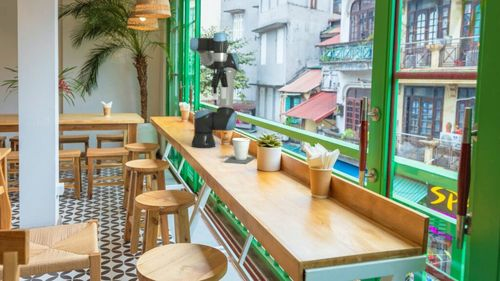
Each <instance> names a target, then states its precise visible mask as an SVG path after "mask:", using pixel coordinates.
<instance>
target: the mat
mask: <svg viewBox="0 0 500 281" xmlns="http://www.w3.org/2000/svg"><path fill="white" fill-rule="evenodd" d="M253 160H256V157H254V156H247V159H246V160H236V159H235V155H234V157H232V158H230V159H228V160H226V161H224V162H223V163H225V164H238V165H239V164H240V165H241V164H242V165H243V164H244V165H246V164H249V163H251V162H252V161H253Z"/></svg>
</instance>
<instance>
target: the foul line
mask: <svg viewBox="0 0 500 281" xmlns="http://www.w3.org/2000/svg"><path fill="white" fill-rule="evenodd" d="M234 156H235V154H230V155H229V156H227V157H225V158H223V159H221V160H220V162H222V163H225V162H224V161H226V160H228V159H230V158H232V157H234Z"/></svg>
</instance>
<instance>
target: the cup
mask: <svg viewBox="0 0 500 281" xmlns="http://www.w3.org/2000/svg"><path fill="white" fill-rule="evenodd" d="M231 140H232V145H233V154H234V156H235V159H236V160H246V159H247V157H248V154H249V147H250V144H251V139H250V138H247V137H234V138H232V139H231Z"/></svg>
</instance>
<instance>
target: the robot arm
mask: <svg viewBox="0 0 500 281" xmlns="http://www.w3.org/2000/svg"><path fill="white" fill-rule="evenodd" d="M229 46H230V44H229V41H228V34H227V33H226V32H214V33H213V37H192V38H190V40H189V49H190V50H191V52H196V53H197V54H198V56H199V61H200V63H201V64H202V66H204V67H205V68H207V69H208V70H212V71H213V74H212V79H211V80H212V81H211V86H210V88H212V100H216V101H217V100H218V101H219V106H218V107H217V109H216V111H214V110H213V109H204V110H203V109H202V110H197V111H195V113H194V117H193V118H194V119H193V120H194V127H193V128H194V129H193V131H194V132H193V133H194V135H193V138H192V140H191V141H192V142H191V147H192V148H197V149H199V148H200V149H210V148H215V147H216V140H215V138H214V134H213V131H226V132H227V131H234V130H235V129H236V125H237V118H238V113H237V112H236V110H235V108H234V86H235V76H236V75H237V72H239V70H240V67H239V57H238V56H239V55H238V53H236V52H228V49H229ZM219 83H220V88H219ZM219 89H220V90H219Z"/></svg>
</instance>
